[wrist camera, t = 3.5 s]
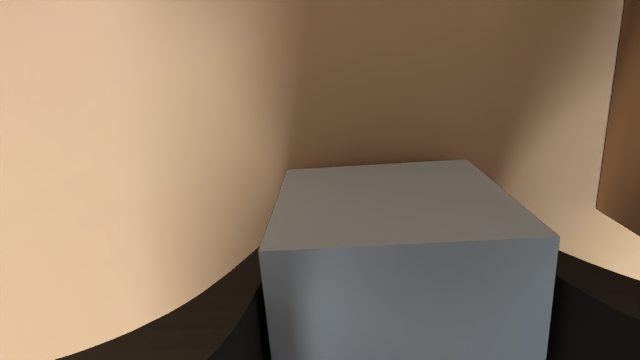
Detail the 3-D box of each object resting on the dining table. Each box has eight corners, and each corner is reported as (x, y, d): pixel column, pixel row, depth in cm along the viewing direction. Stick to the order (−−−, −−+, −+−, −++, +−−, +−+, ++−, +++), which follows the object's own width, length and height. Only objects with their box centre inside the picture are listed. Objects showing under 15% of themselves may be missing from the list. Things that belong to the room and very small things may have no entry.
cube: (461, 313, 13) (534, 464, 8) (301, 320, 13) (285, 471, 9) (466, 159, 12) (559, 236, 7) (287, 169, 12) (258, 251, 7)
